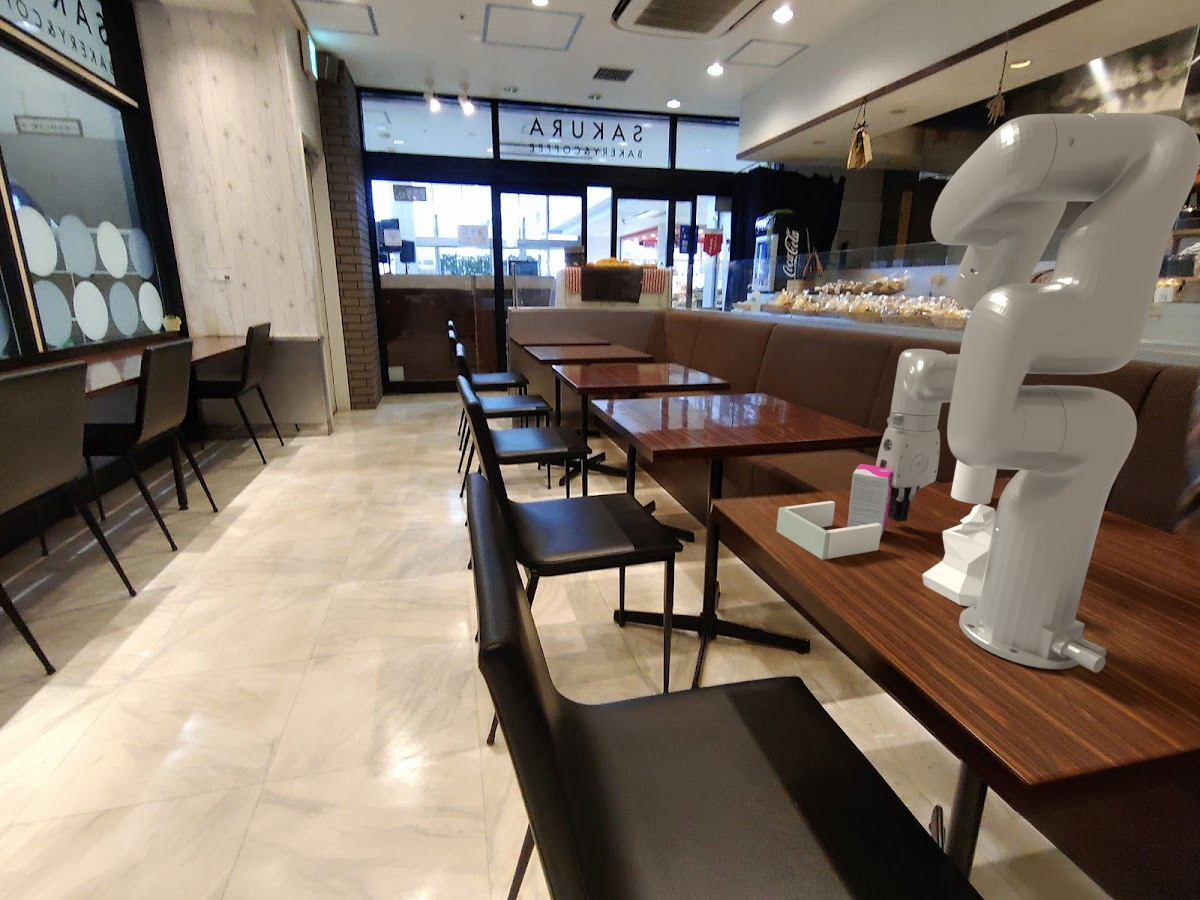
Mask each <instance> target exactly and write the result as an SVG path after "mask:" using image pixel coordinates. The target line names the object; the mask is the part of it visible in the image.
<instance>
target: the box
mask: <svg viewBox="0 0 1200 900" xmlns="http://www.w3.org/2000/svg"><path fill="white" fill-rule="evenodd" d="M835 507H836V502H835V501H833V500H828V501H820V502H813V503H805V504H797V505H791V506H781V507H778V514H777V521H776V532H777V533H778V534H781V535H782V536H783V537H785V538H787V539H788V540H789V541H792V542H793V543H794V544H796V545H798V546H799V547H800V548H802V549H804V550H806V551H808V552H809V553H811V554H812V555H814V556H815V557H817V558H819V559H820V560H828V559H833V558H834V559H835V558H839V557H846V556H852V555H858V554H864V553H869V552H876V551H879V548H880V542H881V541H880V540H881V538H880V535H881V529H882V525H881V524H879V523H873V524H866V525H860V526H853V527H846V526H845V527H841V528H834V529H828V530H826V529H824V527H825V528H826V527H832V526H833V523H834V514H835Z"/></svg>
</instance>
